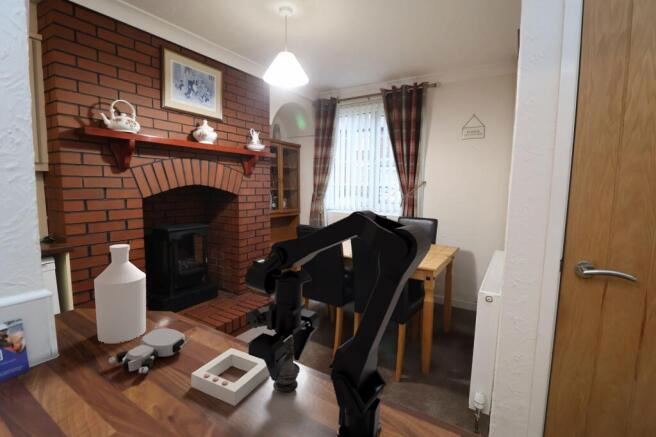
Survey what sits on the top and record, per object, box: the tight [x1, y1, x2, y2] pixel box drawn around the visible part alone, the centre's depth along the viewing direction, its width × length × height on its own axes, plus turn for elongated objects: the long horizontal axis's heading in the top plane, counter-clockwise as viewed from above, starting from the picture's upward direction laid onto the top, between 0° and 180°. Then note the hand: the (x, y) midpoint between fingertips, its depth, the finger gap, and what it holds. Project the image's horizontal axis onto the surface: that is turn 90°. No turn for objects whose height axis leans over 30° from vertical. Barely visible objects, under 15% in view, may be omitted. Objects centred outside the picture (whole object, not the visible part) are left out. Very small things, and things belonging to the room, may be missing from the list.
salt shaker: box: [272, 336, 301, 394], centre depth 67 cm, size 6×6×12 cm
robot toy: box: [108, 326, 193, 374], centre depth 77 cm, size 12×4×15 cm
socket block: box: [190, 347, 270, 407], centre depth 70 cm, size 12×12×3 cm
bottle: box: [93, 243, 147, 344], centre depth 87 cm, size 12×12×25 cm
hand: (286, 369), depth 67 cm, fingers closed on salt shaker, 8 cm apart
